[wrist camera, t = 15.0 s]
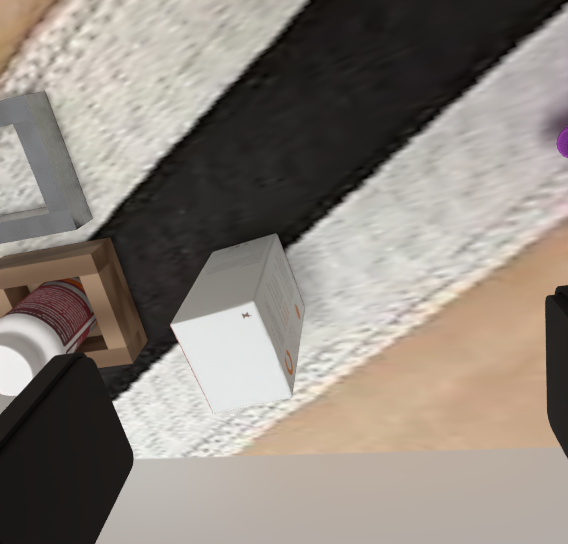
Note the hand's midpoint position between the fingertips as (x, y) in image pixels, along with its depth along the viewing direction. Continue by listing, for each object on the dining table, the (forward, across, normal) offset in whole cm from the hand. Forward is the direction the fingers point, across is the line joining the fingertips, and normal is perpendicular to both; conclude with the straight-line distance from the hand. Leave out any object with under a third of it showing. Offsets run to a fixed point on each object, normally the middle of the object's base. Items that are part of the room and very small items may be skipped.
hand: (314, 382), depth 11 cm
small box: (+34, +9, +12) cm, 37 cm away
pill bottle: (+32, +27, +11) cm, 44 cm away
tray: (+33, +27, +11) cm, 44 cm away
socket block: (+33, +28, -2) cm, 44 cm away
